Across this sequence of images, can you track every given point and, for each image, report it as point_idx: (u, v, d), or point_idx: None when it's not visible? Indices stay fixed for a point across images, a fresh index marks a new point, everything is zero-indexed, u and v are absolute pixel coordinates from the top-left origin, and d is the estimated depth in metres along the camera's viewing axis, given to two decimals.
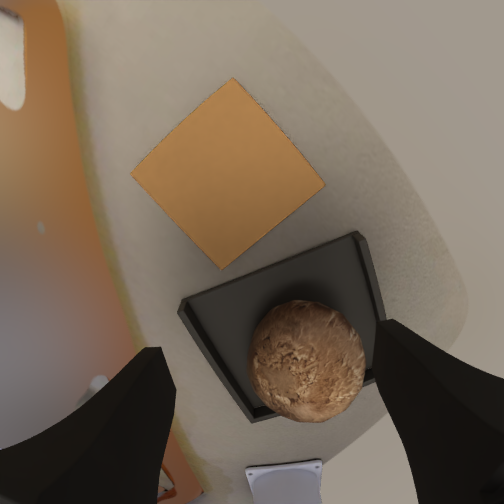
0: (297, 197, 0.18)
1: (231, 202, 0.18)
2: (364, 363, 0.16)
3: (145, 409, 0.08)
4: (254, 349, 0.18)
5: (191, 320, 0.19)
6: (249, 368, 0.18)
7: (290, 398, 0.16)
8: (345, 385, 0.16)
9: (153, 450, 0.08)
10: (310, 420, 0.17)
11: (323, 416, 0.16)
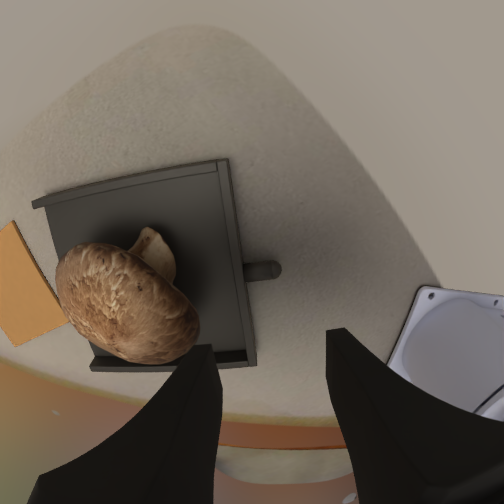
0: (18, 246, 0.17)
1: (23, 295, 0.18)
2: (93, 253, 0.12)
3: (203, 409, 0.08)
4: None
5: (101, 364, 0.19)
6: None
7: (117, 351, 0.13)
8: (99, 293, 0.12)
9: (209, 451, 0.08)
10: (154, 345, 0.13)
11: (144, 331, 0.12)
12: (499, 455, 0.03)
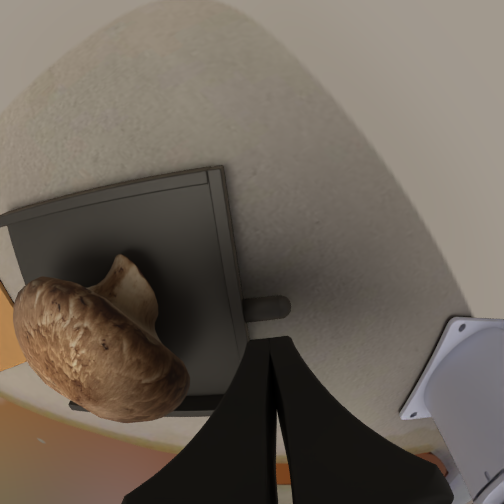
0: None
1: None
2: (48, 296, 0.09)
3: (270, 404, 0.08)
4: None
5: None
6: None
7: None
8: (57, 348, 0.08)
9: (273, 448, 0.08)
10: (130, 411, 0.09)
11: (115, 397, 0.09)
12: (392, 500, 0.03)
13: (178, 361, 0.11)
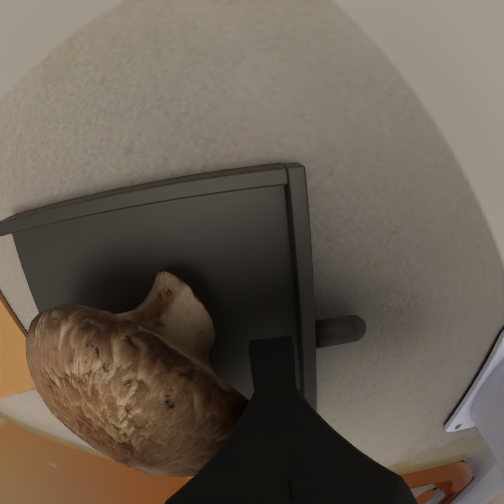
0: None
1: None
2: (79, 336, 0.06)
3: None
4: None
5: None
6: None
7: None
8: (97, 404, 0.06)
9: None
10: (196, 471, 0.07)
11: (180, 460, 0.06)
12: None
13: None
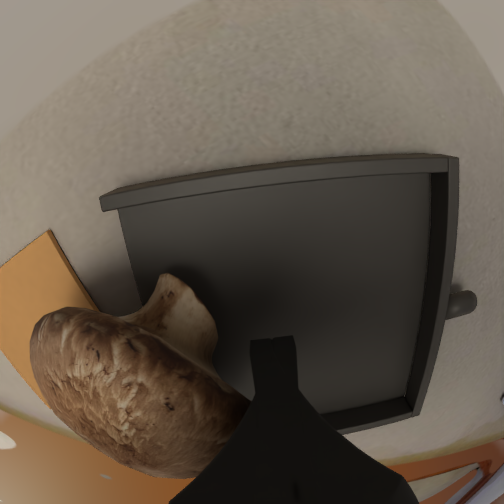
0: (60, 274, 0.11)
1: None
2: (80, 339, 0.07)
3: None
4: None
5: None
6: None
7: None
8: (98, 407, 0.06)
9: None
10: (198, 473, 0.07)
11: (181, 462, 0.06)
12: None
13: None
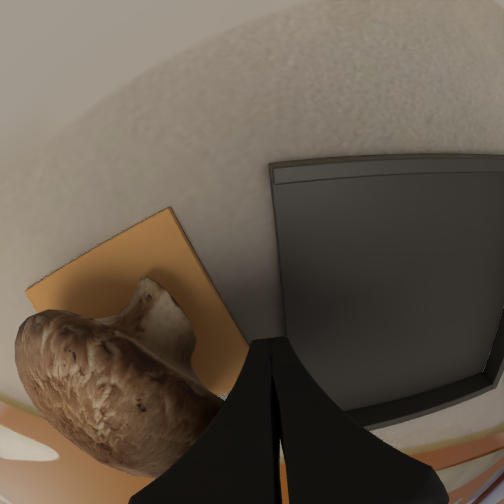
0: (180, 259, 0.11)
1: None
2: (58, 341, 0.07)
3: (274, 404, 0.08)
4: None
5: None
6: None
7: None
8: (75, 406, 0.06)
9: (277, 447, 0.08)
10: None
11: (155, 461, 0.06)
12: (385, 502, 0.03)
13: None
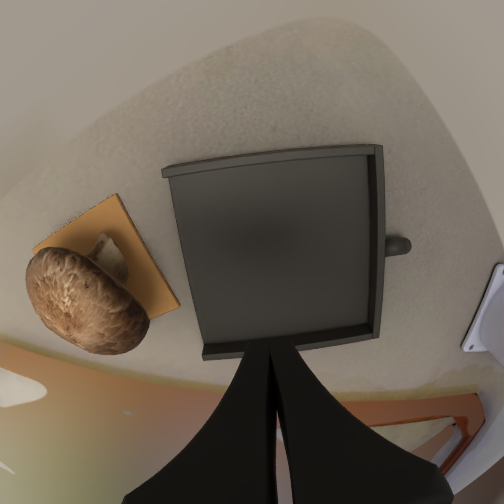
0: (122, 223, 0.18)
1: None
2: (51, 256, 0.13)
3: (270, 404, 0.08)
4: None
5: (216, 351, 0.20)
6: None
7: (75, 341, 0.14)
8: (56, 290, 0.13)
9: (273, 448, 0.08)
10: (102, 335, 0.14)
11: (92, 323, 0.13)
12: (392, 500, 0.03)
13: (137, 303, 0.15)
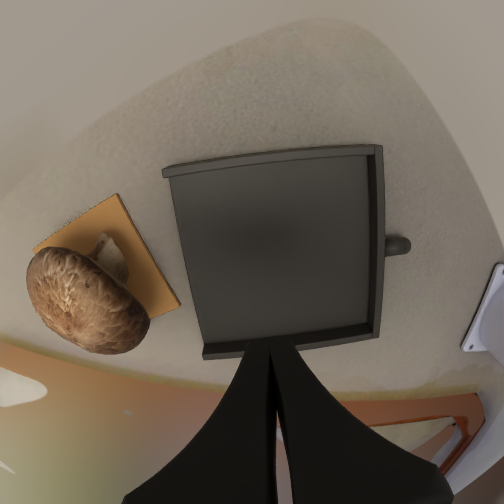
0: (122, 223, 0.18)
1: None
2: (52, 256, 0.13)
3: (270, 404, 0.08)
4: None
5: (216, 351, 0.20)
6: None
7: (75, 341, 0.14)
8: (56, 289, 0.13)
9: (273, 448, 0.08)
10: (102, 335, 0.14)
11: (92, 323, 0.13)
12: (391, 500, 0.03)
13: (138, 302, 0.15)
